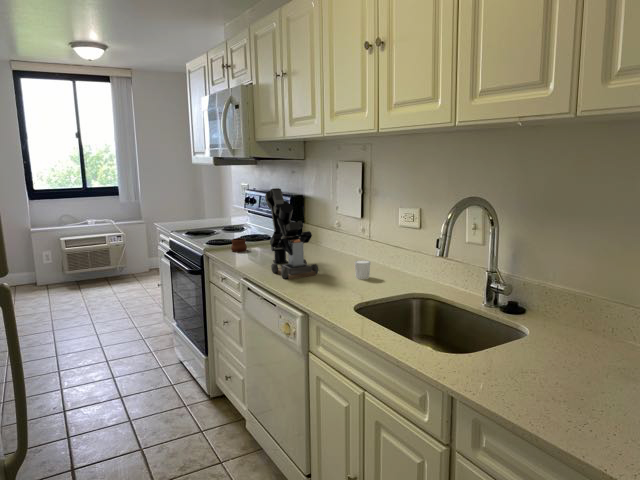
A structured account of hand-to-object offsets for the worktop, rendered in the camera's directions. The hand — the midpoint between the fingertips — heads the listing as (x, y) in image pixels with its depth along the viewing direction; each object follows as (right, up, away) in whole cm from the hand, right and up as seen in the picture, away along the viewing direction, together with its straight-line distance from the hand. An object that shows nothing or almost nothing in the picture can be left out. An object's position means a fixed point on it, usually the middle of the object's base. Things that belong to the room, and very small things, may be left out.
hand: (297, 254), depth 206 cm
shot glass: (+28, -10, -4) cm, 30 cm away
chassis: (-1, -9, +4) cm, 10 cm away
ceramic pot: (-35, 0, +57) cm, 67 cm away
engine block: (-1, -6, +2) cm, 7 cm away
